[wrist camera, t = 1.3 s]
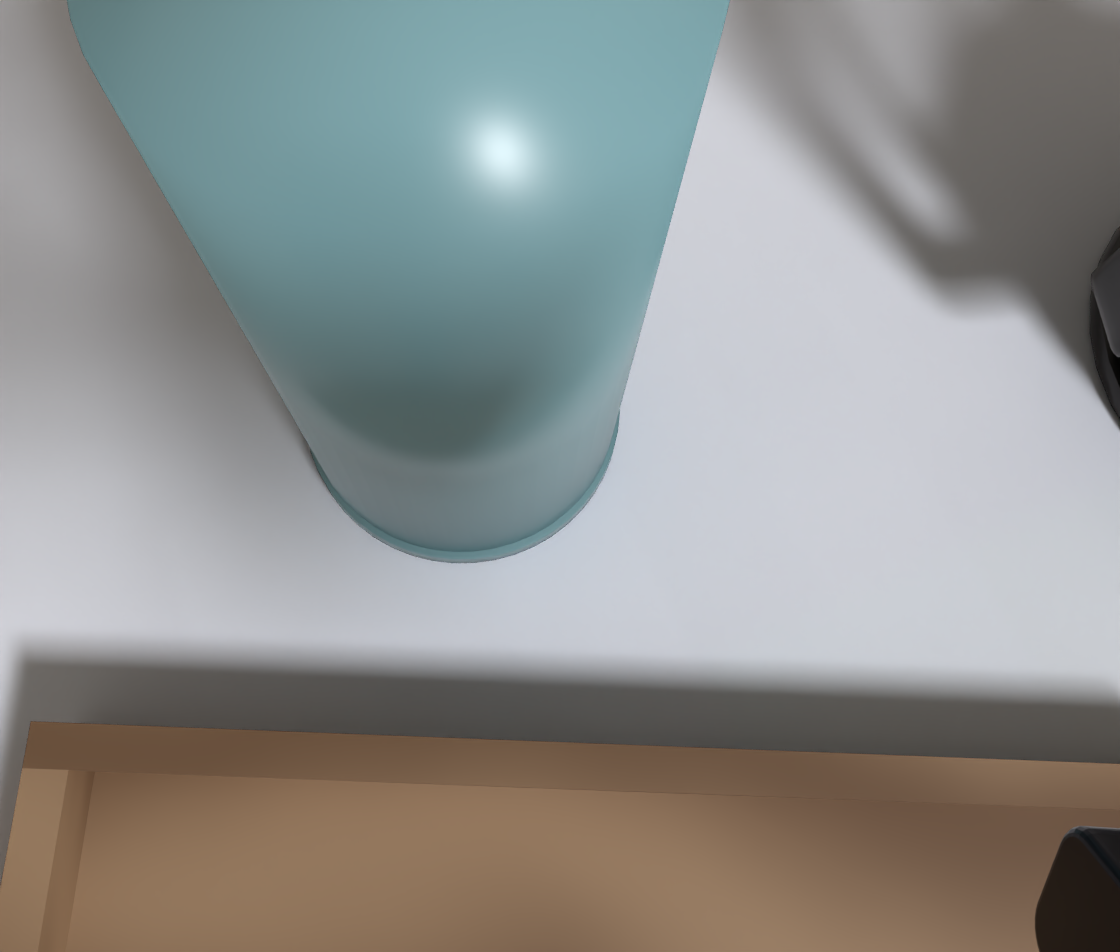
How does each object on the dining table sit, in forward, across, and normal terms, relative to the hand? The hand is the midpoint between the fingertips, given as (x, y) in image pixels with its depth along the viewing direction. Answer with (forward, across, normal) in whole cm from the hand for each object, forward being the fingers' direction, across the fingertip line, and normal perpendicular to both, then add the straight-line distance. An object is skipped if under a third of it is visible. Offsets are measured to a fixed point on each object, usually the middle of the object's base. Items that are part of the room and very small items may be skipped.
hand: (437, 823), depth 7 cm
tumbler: (+15, +1, +3) cm, 16 cm away
